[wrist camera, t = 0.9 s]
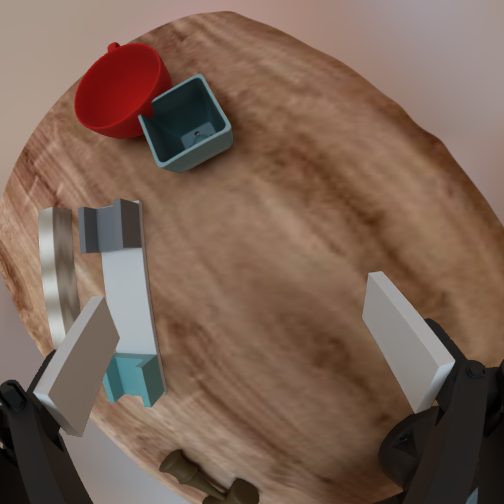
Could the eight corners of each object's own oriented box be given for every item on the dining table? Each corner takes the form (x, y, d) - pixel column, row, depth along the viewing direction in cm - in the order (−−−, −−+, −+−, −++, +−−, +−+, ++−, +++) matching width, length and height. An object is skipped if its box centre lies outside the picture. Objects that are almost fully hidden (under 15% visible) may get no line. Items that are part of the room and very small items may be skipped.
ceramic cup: (169, 49, 38) (146, 14, 28) (197, 127, 37) (171, 94, 27) (102, 85, 39) (70, 59, 29) (119, 166, 39) (79, 148, 29)
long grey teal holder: (167, 391, 39) (152, 410, 33) (128, 388, 40) (109, 404, 34) (142, 201, 38) (120, 194, 33) (102, 208, 39) (78, 204, 33)
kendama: (188, 437, 39) (277, 496, 38) (159, 458, 41) (242, 513, 39) (175, 458, 33) (273, 519, 32) (145, 477, 35) (236, 534, 33)
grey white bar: (98, 388, 41) (82, 399, 36) (83, 385, 41) (67, 396, 36) (72, 210, 40) (52, 207, 35) (58, 213, 41) (38, 211, 36)
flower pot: (162, 134, 38) (134, 109, 29) (217, 104, 37) (200, 71, 28) (185, 185, 38) (158, 169, 29) (244, 154, 37) (232, 128, 28)
